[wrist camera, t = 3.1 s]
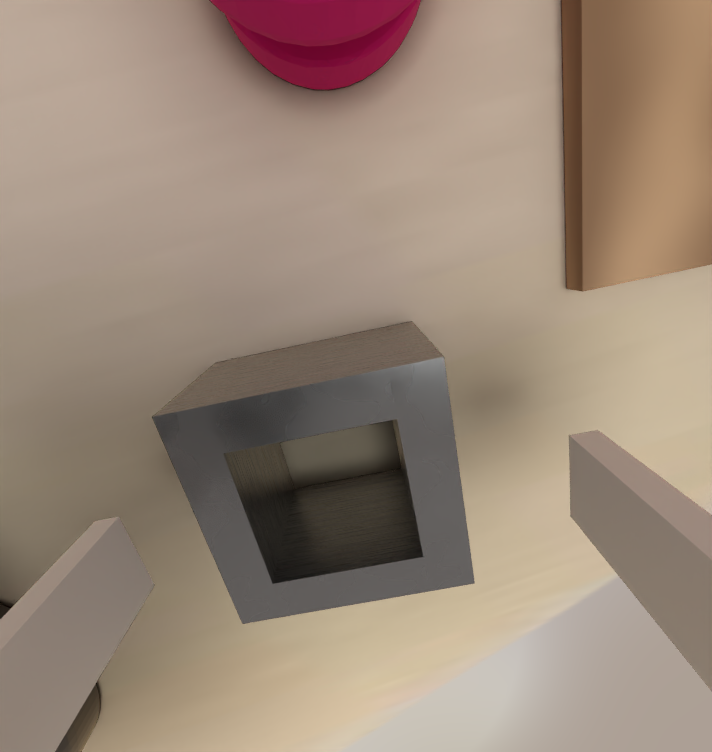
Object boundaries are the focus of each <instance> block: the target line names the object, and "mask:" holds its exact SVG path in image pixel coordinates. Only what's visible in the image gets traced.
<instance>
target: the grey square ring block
mask: <svg viewBox="0 0 712 752" xmlns="http://www.w3.org/2000/svg"><path fill="white" fill-rule="evenodd" d="M152 418H153V420H154V423H155V425H156V427H157V429H158V432H159V434H160V436H161V439H162V441H163V443H164V445H165V448H166V450H167V452H168V455H169V457H170V459H171V461H172V464H173V466H174V468H175V471H176V473H177V475H178V477H179V480H180V482H181V484H182V487H183V489H184V491H185V493H186V496H187V498H188V500H189V503H190V505H191V507H192V509H193V512H194V514H195V516H196V518H197V521H198V523H199V525H200V528H201V530H202V532H203V534H204V537H205V539H206V541H207V544H208V546H209V548H210V550H211V553H212V555H213V557H214V560H215V562H216V564H217V566H218V569H219V571H220V573H221V576H222V578H223V580H224V582H225V585H226V587H227V589H228V592H229V594H230V596H231V598H232V601H233V603H234V605H235V608H236V610H237V612H238V614H239V617H240V619H241V621H242V624H244V623H250V622H256V621H261V620H267V619H273V618H279V617H284V616H290V615H296V614H302V613H307V612H313V611H319V610H325V609H330V608H336V607H342V606H347V605H353V604H359V603H365V602H370V601H376V600H382V599H388V598H393V597H399V596H405V595H411V594H416V593H422V592H428V591H433V590H439V589H445V588H451V587H456V586H462V585H468V584H474V583H475V582H474V575H473V568H472V560H471V553H470V546H469V538H468V531H467V523H466V516H465V509H464V501H463V494H462V487H461V479H460V472H459V464H458V457H457V450H456V442H455V435H454V427H453V420H452V413H451V405H450V398H449V391H448V383H447V376H446V368H445V361H444V356H443V355H442V354H441V353H440V352H439V351H438V350H437V349H436V347H435V346H434V345H433V344H432V343H431V342H430V341H429V340H428V339H427V337H426V336H425V335H424V334H423V333H422V332H421V331H420V330H419V328H418V327H417V326H416V325H415V324H414V323H413V322H412V321H411V322H406V323H402V324H397V325H392V326H387V327H383V328H378V329H373V330H368V331H364V332H359V333H354V334H350V335H345V336H340V337H335V338H331V339H326V340H321V341H316V342H312V343H307V344H302V345H298V346H293V347H288V348H283V349H279V350H274V351H269V352H264V353H260V354H255V355H250V356H246V357H241V358H236V359H231V360H227V361H222V362H217V363H215V364H214V365H212V366H211V367H210V368H209V369H208V370H207V371H205V372H204V373H203V374H202V375H201V376H200V377H198V378H197V379H196V380H195V381H194V382H192V383H191V384H190V385H189V386H188V387H187V388H185V389H184V390H183V391H182V392H181V393H180V394H178V395H177V396H176V397H175V398H174V399H172V400H171V401H170V402H169V403H168V404H167V405H165V406H164V407H163V408H162V409H161V410H160V411H158V412H157V413H156V414H155V415H154V416H152ZM389 420H392V421H393V427H394V432H395V437H396V442H397V447H398V452H399V457H400V462H401V467H402V468H401V469H396V470H391V471H386V472H380V473H375V474H370V475H365V476H359V477H354V478H349V479H344V480H339V481H333V482H328V483H323V484H318V485H312V486H307V487H302V488H297V489H294V487H293V484H292V481H291V478H290V474H289V471H288V468H287V465H286V462H285V459H284V456H283V452H282V449H281V446H280V443H279V442H284V441H289V440H294V439H299V438H304V437H309V436H314V435H319V434H324V433H329V432H334V431H339V430H344V429H349V428H354V427H359V426H364V425H369V424H374V423H379V422H384V421H389Z"/></svg>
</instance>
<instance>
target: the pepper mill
mask: <svg viewBox="0 0 712 752" xmlns="http://www.w3.org/2000/svg"><path fill="white" fill-rule="evenodd" d="M210 1H211V2H212V3H213V4H214V5H215V6H216V7H217V8H218V9H219V10H220V11H222V12H223V13H225V15H226V17H227V19H228V21H229V23H230V25H231V26H232V28H233V30H234V31H235V33H236V35H237V36H238V38H239V40H240V41H241V42H242V44H243V45H244V46H245V47H246V48H247V50H248V51H249V52H250V53H251V54H252V55H253V56H254V58H255V59H256V60H257V61H258V62H260V63H261V64H262V65H263V66H264V67H265V68H267V69H268V70H269V71H270V72H271V73H273V74H274V75H276V76H278V77H280V78H282V79H284V80H286V81H288V82H290V83H292V84H295V85H299V86H303V87H307V88H311V89H325V90H330V89H336V88H341V87H346V86H349V85H351V84H353V83H356V82H358V81H360V80H363V79H365V78H366V77H367V76H369V75H370V74H372V73H373V72H375V71H376V70H377V69H379V68H380V67H382V66H383V65H384V64H385V63H386V62H387V61H388V60H389V59H390V58H391V57H392V56H393V54H394V53H395V52H396V50H397V49H398V48H399V47H400V45H401V43H402V42H403V40H404V38H405V36H406V35H407V33H408V31H409V29H410V28H411V26H412V24H413V21H414V19H415V17H416V14H417V11H418V8H419V5H420V2H421V0H210Z"/></svg>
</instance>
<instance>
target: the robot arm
mask: <svg viewBox="0 0 712 752" xmlns="http://www.w3.org/2000/svg"><path fill="white" fill-rule="evenodd" d="M569 459H570V511H571V517H572V518H573V520H574V521H575V522H576V523H577V525H578V526H579V527H580V528H581V530H582V531H583V532H584V533H585V535H586V536H587V537H588V538H589V540H590V541H591V542H592V543H593V545H594V546H595V547H596V548H597V550H598V551H599V552H600V553H601V554H602V556H603V557H604V558H605V559H606V561H607V562H608V563H609V564H610V566H611V567H612V568H613V569H614V571H615V572H616V573H617V574H618V576H619V577H620V578H621V579H622V580H623V582H624V583H625V584H626V585H627V587H628V588H629V589H630V590H631V592H632V593H633V594H634V595H635V596H636V598H637V599H638V600H639V602H640V603H641V604H642V605H643V606H644V608H645V609H646V610H647V612H648V613H649V614H650V615H651V617H652V618H653V619H654V620H655V622H656V623H657V624H658V625H659V626H660V628H661V629H662V630H663V631H664V633H665V634H666V635H667V636H668V638H669V639H670V640H671V641H672V643H673V644H674V645H675V646H676V647H677V649H678V650H679V651H680V653H681V654H682V655H683V656H684V658H685V659H686V660H687V661H688V662H689V664H690V665H691V666H692V667H693V669H694V670H695V671H696V672H697V674H698V675H699V676H700V677H701V679H702V680H703V681H704V682H705V684H706V685H707V686H708V687H709V688H710V690H711V691H712V515H711V514H710V513H708V512H707V511H706V510H704V509H703V508H701V507H700V506H699V505H697V504H696V503H695V502H693V501H692V500H691V499H689V498H688V497H687V496H685V495H684V494H683V493H681V492H680V491H679V490H677V489H676V488H675V487H673V486H672V485H671V484H669V483H668V482H667V481H665V480H664V479H663V478H661V477H660V476H659V475H657V474H656V473H655V472H653V471H652V470H651V469H649V468H648V467H647V466H645V465H644V464H643V463H641V462H640V461H639V460H637V459H636V458H635V457H633V456H632V455H631V454H629V453H628V452H626V451H625V450H624V449H622V448H621V447H620V446H618V445H617V444H616V443H614V442H613V441H612V440H610V439H609V438H608V437H606V436H605V435H604V434H602V433H601V432H600V431H598V430H595V431H590V432H584V433H579V434H573V435H569ZM153 587H154V583H153V581H152V579H151V577H150V575H149V573H148V571H147V569H146V567H145V565H144V563H143V562H142V560H141V558H140V556H139V554H138V552H137V550H136V548H135V546H134V544H133V542H132V540H131V539H130V537H129V535H128V533H127V531H126V529H125V527H124V525H123V523H122V521H121V519H120V517H114V518H108V519H102V520H97V521H94V522H93V523H92V525H91V526H90V527H89V528H88V529H87V530H86V531H85V532H84V533H83V534H82V535H81V536H80V537H79V538H78V539H77V540H76V541H75V542H74V543H73V544H72V545H71V546H70V547H69V548H68V550H67V551H66V552H65V553H64V554H63V555H62V556H61V557H60V558H59V559H58V560H57V561H56V562H55V563H54V564H53V565H52V566H51V567H50V568H49V569H48V570H47V571H46V572H45V573H44V575H43V576H42V577H41V578H40V579H39V580H38V581H37V582H36V583H35V584H34V585H33V586H32V587H31V588H30V589H29V590H28V591H27V592H26V593H25V594H24V595H23V596H22V597H21V598H20V600H19V601H18V602H17V603H16V604H15V605H14V606H13V607H12V608H11V609H10V608H8V607H6V606H3V605H1V604H0V752H82V750H83V748H84V746H85V744H86V742H87V740H88V738H89V737H90V735H91V733H92V731H93V729H94V727H95V725H96V723H97V720H98V716H99V710H100V699H99V693H98V689H97V686H96V682H97V681H98V679H99V677H100V676H101V674H102V672H103V671H104V669H105V667H106V666H107V664H108V662H109V661H110V659H111V657H112V656H113V654H114V652H115V651H116V649H117V647H118V646H119V644H120V642H121V641H122V639H123V637H124V636H125V634H126V632H127V631H128V629H129V627H130V626H131V624H132V622H133V621H134V619H135V617H136V616H137V614H138V612H139V611H140V609H141V607H142V606H143V604H144V602H145V601H146V599H147V597H148V596H149V594H150V592H151V590H152V589H153Z"/></svg>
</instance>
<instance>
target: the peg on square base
mask: <svg viewBox="0 0 712 752" xmlns="http://www.w3.org/2000/svg"><path fill="white" fill-rule="evenodd" d="M562 49H563V106H564V163H565V219H566V276H567V289H572V290H577V291H587V290H592V289H597V288H601V287H606V286H611V285H616V284H620V283H625V282H630V281H635V280H639V279H644V278H649V277H653V276H658V275H663V274H668V273H672V272H677V271H682V270H687V269H691V268H696V267H701V266H706V265H710V264H712V0H562Z"/></svg>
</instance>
